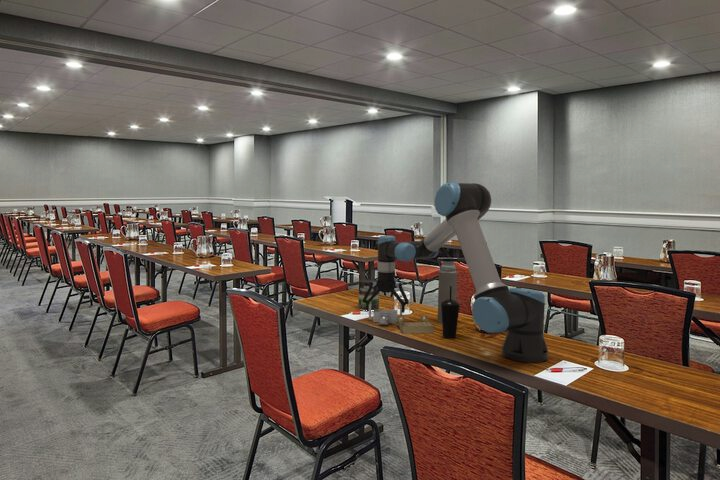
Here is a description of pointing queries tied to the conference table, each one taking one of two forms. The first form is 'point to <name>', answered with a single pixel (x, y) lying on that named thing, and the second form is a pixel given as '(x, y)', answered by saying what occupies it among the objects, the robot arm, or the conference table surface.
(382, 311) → the grey mechanical part
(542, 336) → the robot arm
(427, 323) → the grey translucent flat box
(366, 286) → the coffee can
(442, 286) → the thermos bottle
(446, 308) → the drinking cup
